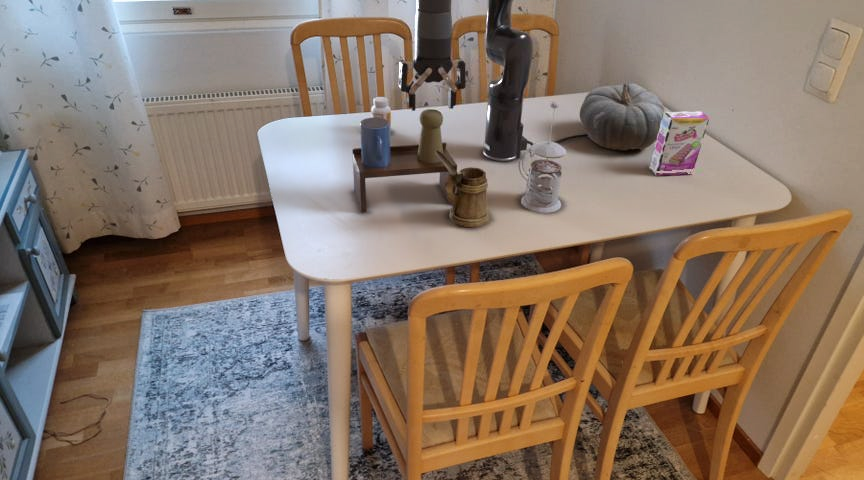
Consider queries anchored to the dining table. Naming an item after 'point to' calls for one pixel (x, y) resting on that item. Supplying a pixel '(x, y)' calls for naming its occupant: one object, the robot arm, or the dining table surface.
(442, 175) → the brown wooden shelf
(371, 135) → the cup
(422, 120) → the olive green peg figure
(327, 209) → the dining table surface
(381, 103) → the supplement bottle
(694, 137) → the candy bar box
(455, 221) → the wooden mug
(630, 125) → the gourd
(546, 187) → the french press
